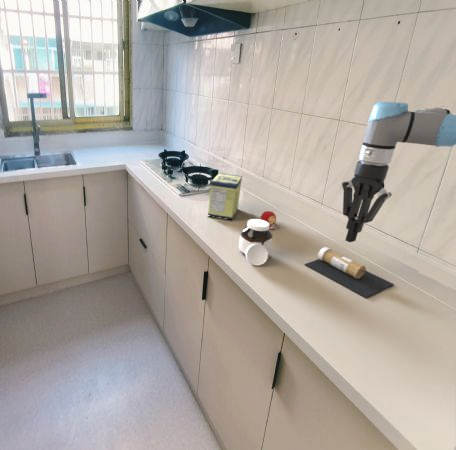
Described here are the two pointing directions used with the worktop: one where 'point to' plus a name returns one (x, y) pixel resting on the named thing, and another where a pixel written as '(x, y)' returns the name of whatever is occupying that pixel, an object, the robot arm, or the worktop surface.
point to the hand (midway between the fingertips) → (350, 240)
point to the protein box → (224, 195)
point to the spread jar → (256, 241)
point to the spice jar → (342, 262)
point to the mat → (351, 279)
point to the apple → (269, 219)
